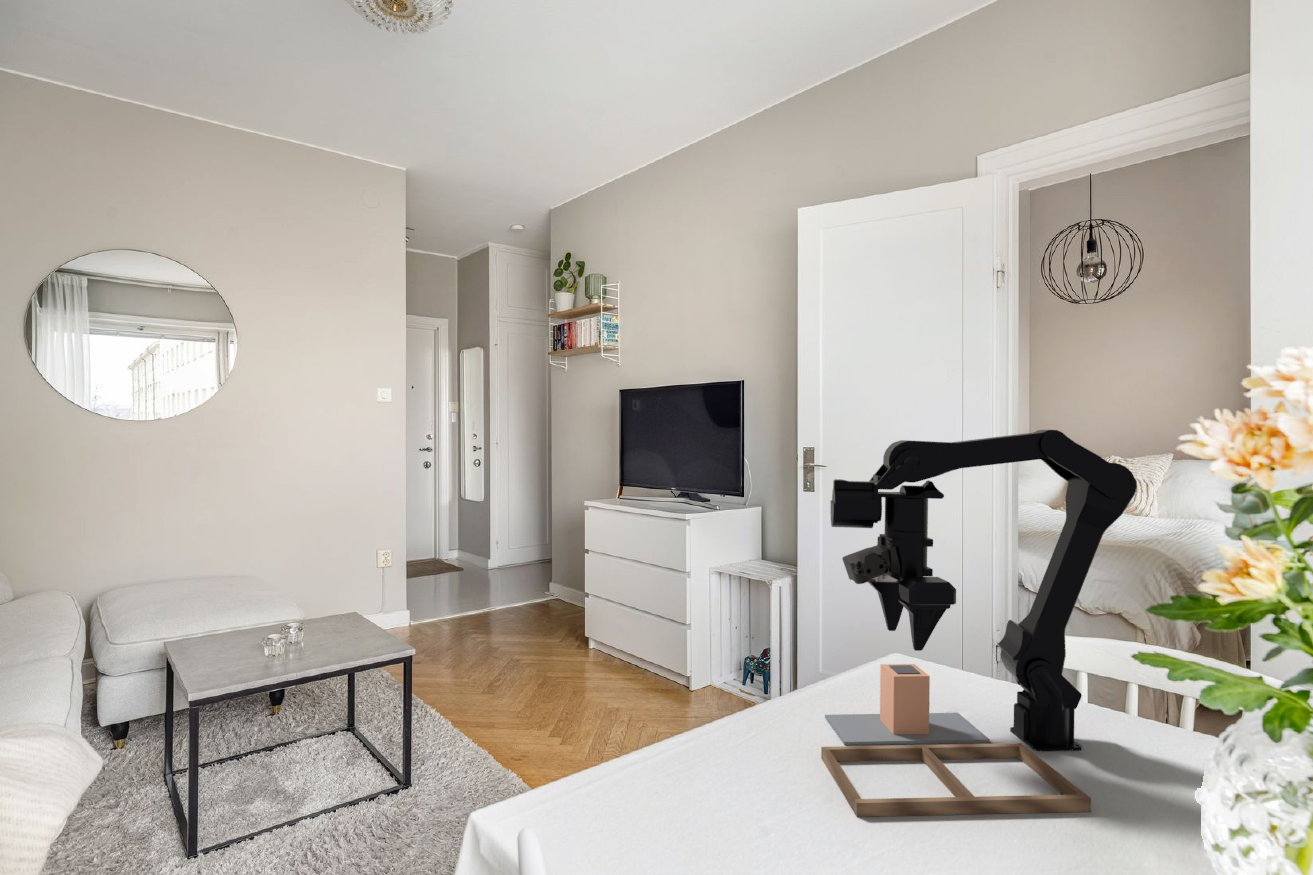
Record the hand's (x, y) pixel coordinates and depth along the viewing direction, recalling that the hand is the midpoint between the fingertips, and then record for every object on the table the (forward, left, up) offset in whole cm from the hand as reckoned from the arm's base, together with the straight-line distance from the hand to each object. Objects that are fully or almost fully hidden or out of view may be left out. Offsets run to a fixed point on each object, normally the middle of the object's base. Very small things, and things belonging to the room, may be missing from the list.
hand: (904, 639), depth 99 cm
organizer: (+1, +15, -13) cm, 20 cm away
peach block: (0, 0, -12) cm, 12 cm away
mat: (0, 0, -13) cm, 13 cm away
